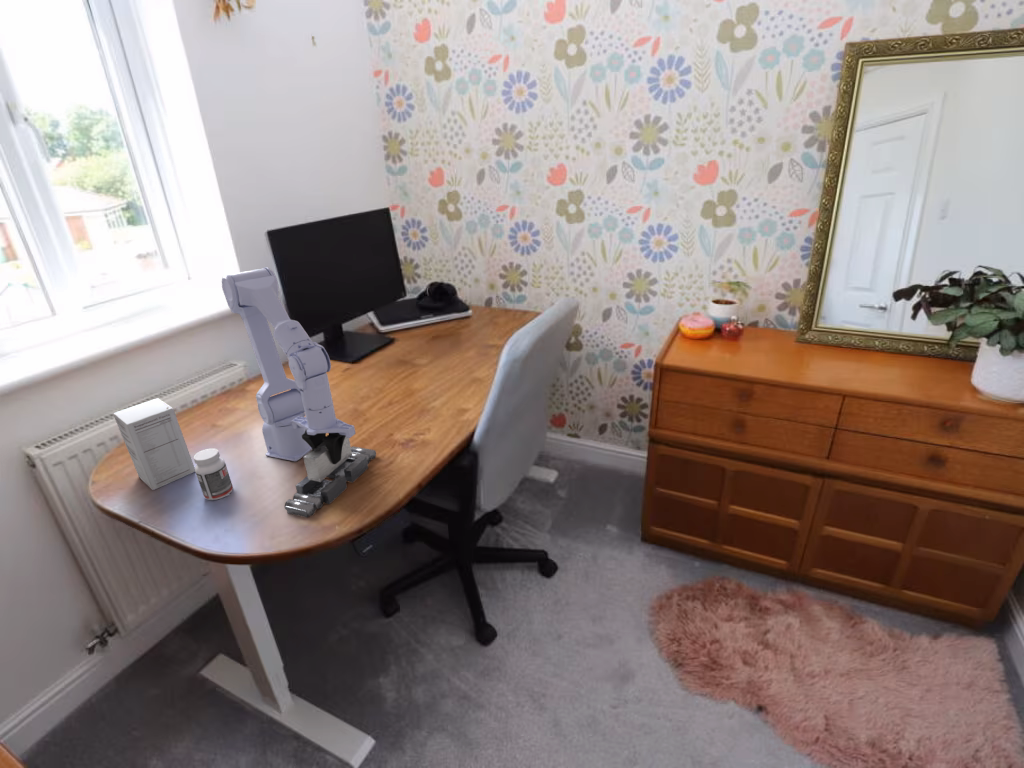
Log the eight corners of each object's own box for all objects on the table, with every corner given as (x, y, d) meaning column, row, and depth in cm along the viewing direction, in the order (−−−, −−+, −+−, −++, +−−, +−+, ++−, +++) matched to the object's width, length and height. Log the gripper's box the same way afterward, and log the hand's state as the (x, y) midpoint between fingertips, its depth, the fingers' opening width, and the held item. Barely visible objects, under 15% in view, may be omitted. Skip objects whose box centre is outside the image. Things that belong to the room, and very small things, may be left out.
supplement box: (181, 458, 128) (159, 396, 121) (197, 471, 122) (175, 406, 115) (136, 477, 121) (111, 412, 114) (151, 491, 116) (125, 424, 109)
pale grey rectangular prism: (308, 479, 110) (303, 457, 108) (341, 452, 120) (336, 431, 117) (320, 481, 109) (315, 459, 107) (352, 454, 119) (348, 433, 116)
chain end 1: (281, 511, 107) (278, 499, 106) (317, 481, 117) (314, 470, 115) (313, 519, 105) (310, 506, 104) (347, 487, 114) (344, 476, 113)
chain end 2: (322, 476, 118) (320, 465, 117) (352, 451, 128) (350, 440, 127) (352, 482, 116) (350, 471, 115) (380, 456, 125) (378, 445, 124)
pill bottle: (238, 484, 117) (226, 446, 113) (226, 500, 112) (213, 460, 108) (212, 486, 117) (199, 447, 113) (199, 501, 112) (185, 462, 107)
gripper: (276, 408, 107) (290, 464, 113) (335, 417, 103) (346, 476, 108) (300, 394, 113) (312, 448, 119) (356, 402, 109) (366, 458, 114)
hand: (330, 460), depth 114 cm, fingers closed on pale grey rectangular prism, 3 cm apart
